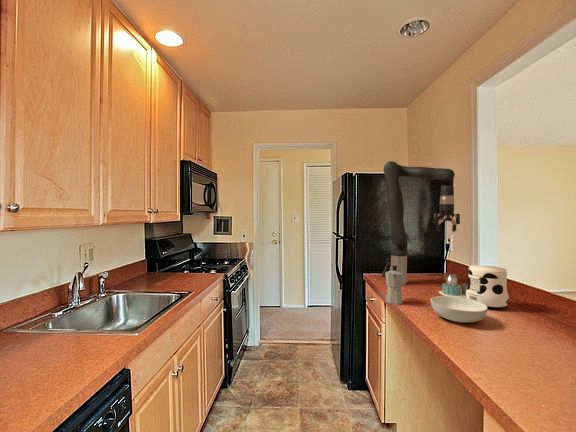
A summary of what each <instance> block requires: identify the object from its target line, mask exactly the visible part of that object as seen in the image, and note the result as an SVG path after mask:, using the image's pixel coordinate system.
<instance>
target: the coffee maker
mask: <svg viewBox="0 0 576 432" xmlns="http://www.w3.org/2000/svg"><path fill="white" fill-rule="evenodd" d="M392 267H393V270H392V271H390V270H389V271H386V272H385V275H386V277H385V284H386V286H387V290H386V295H385V303H386V304H388V305H397V306H398V305H403V304H404V302H403V295H402V287H403V285H402V284H403V277H404V273H402V272H399V271H397V266H394V265H393V266H392Z"/></svg>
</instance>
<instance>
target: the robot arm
mask: <svg viewBox="0 0 576 432" xmlns="http://www.w3.org/2000/svg"><path fill="white" fill-rule="evenodd" d="M383 174H384V178H385V184H386V201H387V209H388V215H389V220H390V240H391V251H390V259H391V260H390V262H391V266H390V267H389V271H392V270H393V267H392V266H393V265H394V266H397V271H399V272H402V273H404V277H403V284H402V286H403V285H406V284H407V277H408V276H407V275H408V274H407V273H408V272H407V270H408V269H407V268H408V264H407V263H408V240H409V239H408V234H407V232H406V230H405V224H404V214H405V213H404V211H405V206H404V205H405V204H404V198H403V193H402V189H401V186H400V177H403V178H405V177H407V178H414V179H415V178H416V179H421V180H430V181H431V180H432V181H433V180H438V181H440V194H439V195H440V197H439V213H433V224H434V225H436V231H437V232H441V224H442V223H443V222H450V223H451V224H452V226H451V227H452V228H451V232H452V233H453V232H456V231H457V225H460V224H461V217H460V216H461V214H459V213H455V188H454V183H455V182H454V179H455V176H456V175H455V171H454V170H453V169H451V168H445V167H444V168H442V167H440V168H436V167H428V166H406V165H401V164H398V163H397V162H396V161H393V160H391V161H388V162H386V163H385V164H384V166H383ZM438 218H439V219H438ZM454 218H455V219H454Z"/></svg>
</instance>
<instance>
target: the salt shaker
mask: <svg viewBox="0 0 576 432" xmlns="http://www.w3.org/2000/svg"><path fill="white" fill-rule="evenodd" d="M445 281H446V286H452V287H457V285H458V274H456V273H446V280H445Z"/></svg>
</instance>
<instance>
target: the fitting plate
mask: <svg viewBox="0 0 576 432" xmlns="http://www.w3.org/2000/svg"><path fill="white" fill-rule="evenodd" d="M467 287H468V283H462V284H461V285H460V284H457V287H452V286H446V283H442V290H438V294H440V295H441V296H453V297H461V298H466V290H467Z"/></svg>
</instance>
